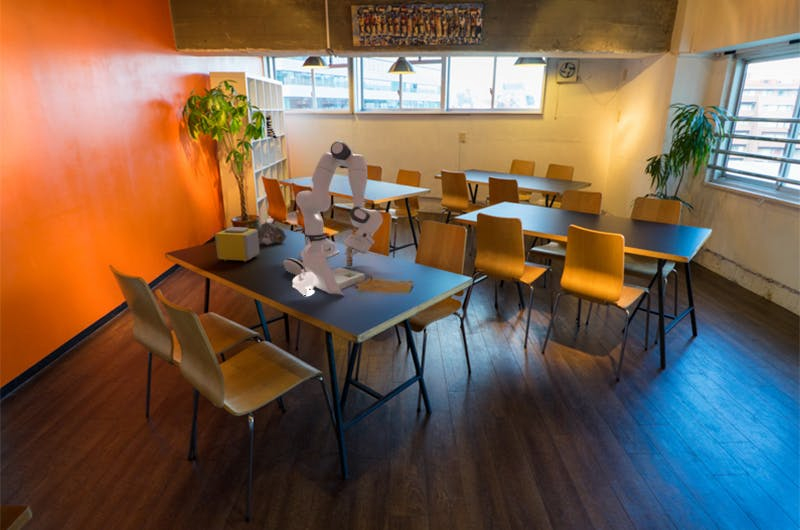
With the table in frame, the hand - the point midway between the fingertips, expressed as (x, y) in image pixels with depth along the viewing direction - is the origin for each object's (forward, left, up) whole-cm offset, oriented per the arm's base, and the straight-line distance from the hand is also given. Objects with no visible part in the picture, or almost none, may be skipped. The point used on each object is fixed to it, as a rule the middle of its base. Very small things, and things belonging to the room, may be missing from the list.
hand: (348, 255), depth 252 cm
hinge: (+25, -14, -8) cm, 30 cm away
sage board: (+18, +11, -7) cm, 22 cm away
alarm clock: (+28, -63, -8) cm, 69 cm away
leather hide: (+12, +37, -8) cm, 40 cm away
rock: (-8, -79, -8) cm, 80 cm away
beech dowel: (-1, 0, -6) cm, 6 cm away
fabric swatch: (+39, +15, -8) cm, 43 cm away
